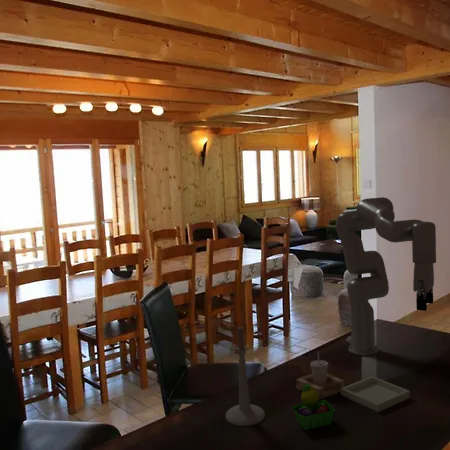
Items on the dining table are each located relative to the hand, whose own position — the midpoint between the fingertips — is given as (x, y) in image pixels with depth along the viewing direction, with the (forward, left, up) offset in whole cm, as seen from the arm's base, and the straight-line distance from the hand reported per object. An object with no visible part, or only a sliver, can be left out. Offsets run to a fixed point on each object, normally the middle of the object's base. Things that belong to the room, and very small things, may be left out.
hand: (425, 306), depth 171 cm
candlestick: (-23, -62, -29) cm, 72 cm away
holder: (-22, -30, -29) cm, 47 cm away
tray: (-6, -20, -29) cm, 36 cm away
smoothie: (-22, -30, -29) cm, 47 cm away
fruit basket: (-6, -48, -29) cm, 56 cm away
